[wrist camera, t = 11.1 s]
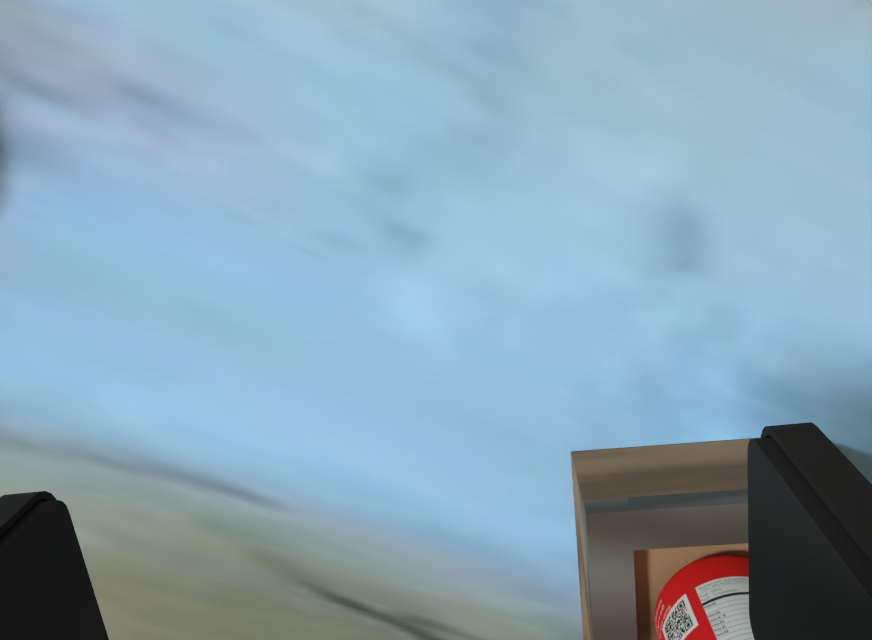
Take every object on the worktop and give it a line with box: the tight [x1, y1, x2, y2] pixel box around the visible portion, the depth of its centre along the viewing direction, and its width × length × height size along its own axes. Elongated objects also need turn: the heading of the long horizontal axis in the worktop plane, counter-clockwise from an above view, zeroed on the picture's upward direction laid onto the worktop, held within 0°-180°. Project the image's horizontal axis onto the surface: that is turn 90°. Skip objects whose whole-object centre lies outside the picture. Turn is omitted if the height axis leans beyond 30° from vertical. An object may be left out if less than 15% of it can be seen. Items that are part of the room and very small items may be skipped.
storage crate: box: [571, 438, 757, 640], centre depth 38 cm, size 12×12×6 cm
